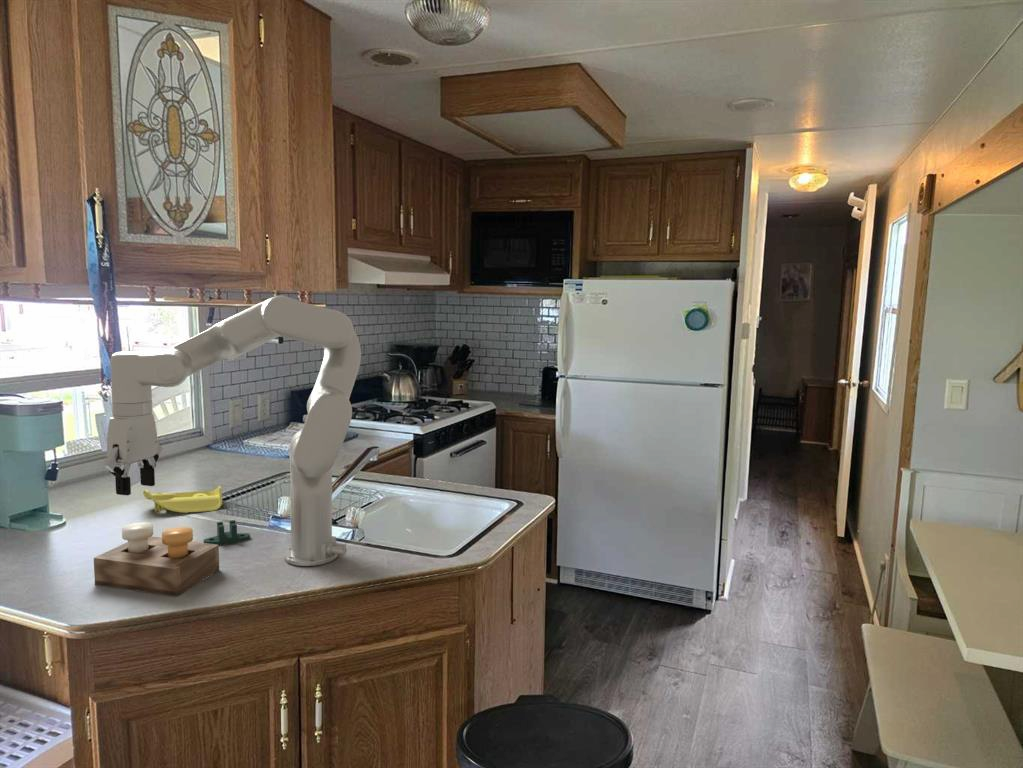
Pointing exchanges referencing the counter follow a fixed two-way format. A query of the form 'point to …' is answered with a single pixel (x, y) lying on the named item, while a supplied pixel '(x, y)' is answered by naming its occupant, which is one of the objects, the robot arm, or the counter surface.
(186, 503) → the plastic component
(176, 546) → the orange button
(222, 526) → the mount
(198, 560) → the wooden peg board
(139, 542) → the cream button
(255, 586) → the counter surface
